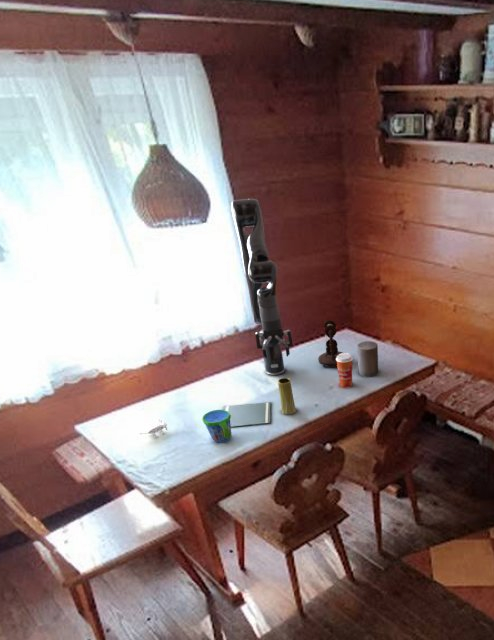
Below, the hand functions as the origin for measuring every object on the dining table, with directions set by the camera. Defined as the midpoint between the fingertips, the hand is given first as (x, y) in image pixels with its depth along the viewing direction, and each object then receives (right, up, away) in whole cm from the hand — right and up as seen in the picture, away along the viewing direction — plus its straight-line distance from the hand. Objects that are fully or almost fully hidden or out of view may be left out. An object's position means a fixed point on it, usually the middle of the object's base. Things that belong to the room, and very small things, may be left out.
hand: (276, 356), depth 209 cm
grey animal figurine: (-49, -33, -1) cm, 59 cm away
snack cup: (-21, -34, -4) cm, 41 cm away
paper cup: (+26, -4, +29) cm, 40 cm away
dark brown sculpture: (+18, +12, +48) cm, 53 cm away
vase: (+3, -20, +12) cm, 23 cm away
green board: (-15, -22, +10) cm, 28 cm away
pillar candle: (+37, +4, +39) cm, 53 cm away
